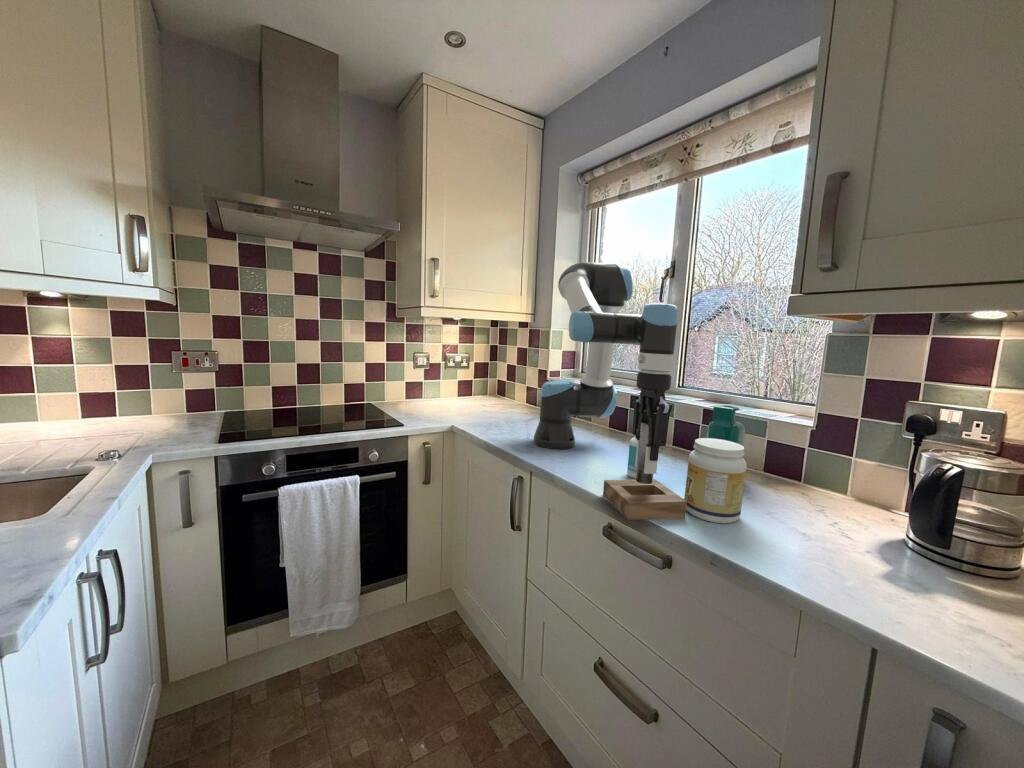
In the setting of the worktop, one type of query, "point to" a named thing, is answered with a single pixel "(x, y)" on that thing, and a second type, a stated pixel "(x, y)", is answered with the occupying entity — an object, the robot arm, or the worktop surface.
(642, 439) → the pin
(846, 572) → the worktop surface
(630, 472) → the pill bottle
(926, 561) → the worktop surface
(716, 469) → the supplement tub
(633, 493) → the slot block
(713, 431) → the green bottle
